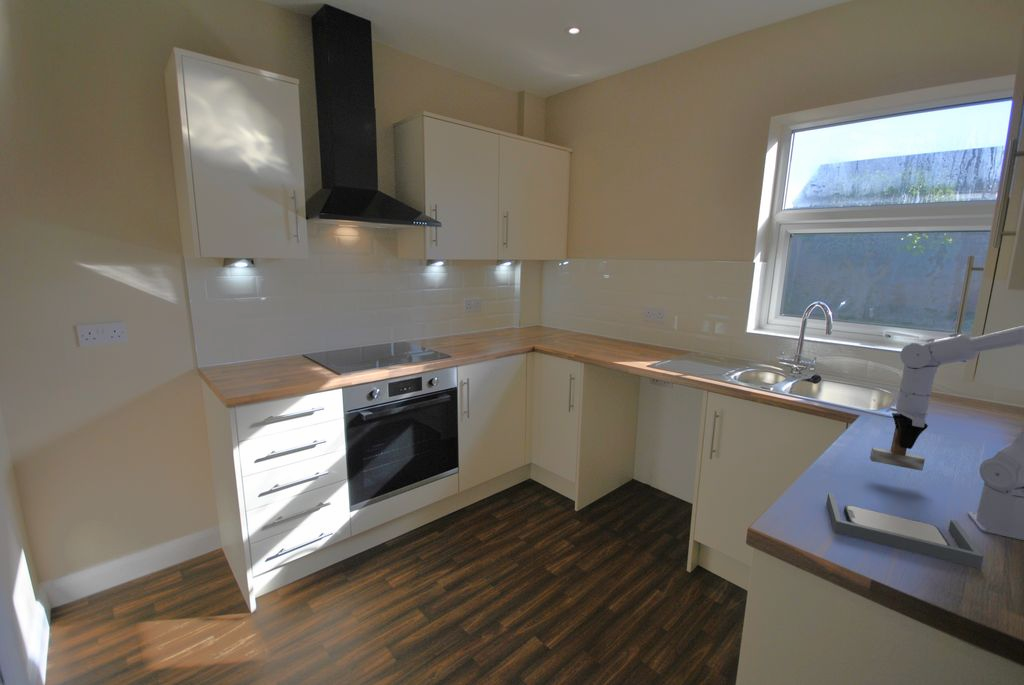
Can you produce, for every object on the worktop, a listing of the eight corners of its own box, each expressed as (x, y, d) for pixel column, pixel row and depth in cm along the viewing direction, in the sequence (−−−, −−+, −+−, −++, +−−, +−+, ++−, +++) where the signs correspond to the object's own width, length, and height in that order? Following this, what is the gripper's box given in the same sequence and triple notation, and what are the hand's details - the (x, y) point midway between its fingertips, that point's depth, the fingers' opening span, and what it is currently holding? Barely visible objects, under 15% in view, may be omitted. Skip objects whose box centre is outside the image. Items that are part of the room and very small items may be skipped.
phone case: (935, 532, 97) (842, 509, 104) (937, 525, 96) (843, 503, 103) (951, 556, 89) (849, 530, 96) (953, 549, 88) (851, 523, 95)
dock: (954, 532, 96) (957, 521, 95) (980, 568, 84) (983, 556, 84) (826, 503, 105) (828, 492, 105) (834, 532, 94) (836, 521, 94)
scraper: (919, 467, 115) (927, 432, 114) (922, 471, 113) (930, 436, 112) (869, 457, 120) (876, 424, 118) (871, 461, 118) (878, 427, 116)
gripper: (886, 382, 121) (877, 432, 123) (901, 397, 108) (890, 452, 111) (922, 387, 117) (911, 438, 120) (941, 402, 105) (929, 459, 107)
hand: (903, 445), depth 115 cm, fingers closed on scraper, 2 cm apart
